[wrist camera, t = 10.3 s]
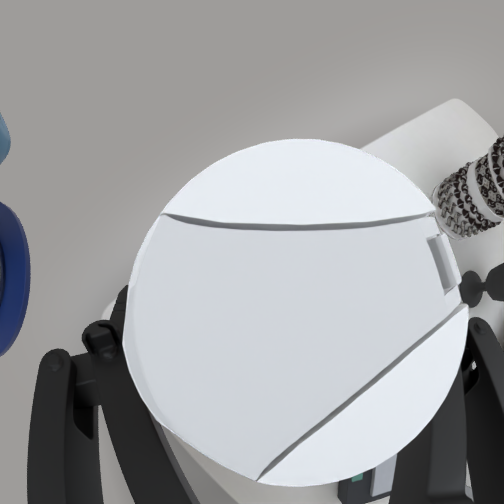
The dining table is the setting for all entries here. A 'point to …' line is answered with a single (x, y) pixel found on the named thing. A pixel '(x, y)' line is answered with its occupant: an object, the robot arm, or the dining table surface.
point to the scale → (368, 484)
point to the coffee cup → (295, 313)
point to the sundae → (482, 286)
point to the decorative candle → (472, 196)
